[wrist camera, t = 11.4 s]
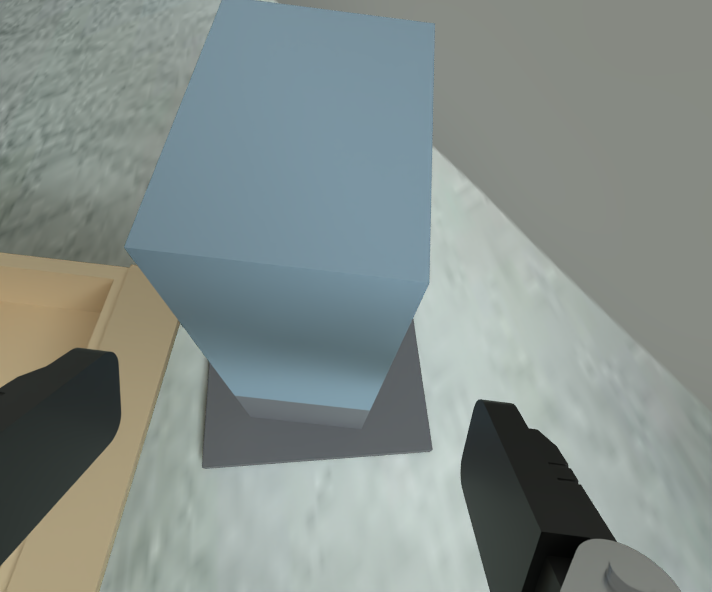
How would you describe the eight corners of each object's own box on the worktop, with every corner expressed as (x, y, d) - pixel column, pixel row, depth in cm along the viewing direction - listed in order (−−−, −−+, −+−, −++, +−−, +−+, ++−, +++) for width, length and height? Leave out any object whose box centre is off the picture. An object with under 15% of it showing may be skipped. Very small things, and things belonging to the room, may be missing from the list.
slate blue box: (373, 291, 23) (434, 23, 10) (361, 429, 20) (429, 283, 7) (277, 280, 23) (223, -4, 10) (250, 417, 20) (123, 247, 7)
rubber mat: (402, 263, 24) (404, 257, 24) (429, 451, 20) (432, 449, 20) (219, 269, 23) (216, 263, 23) (205, 468, 19) (202, 467, 19)
